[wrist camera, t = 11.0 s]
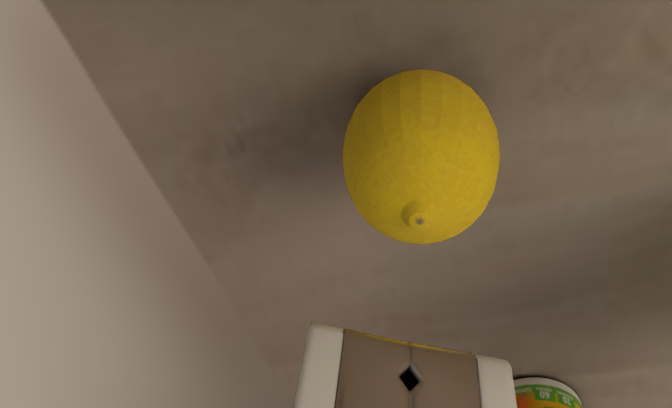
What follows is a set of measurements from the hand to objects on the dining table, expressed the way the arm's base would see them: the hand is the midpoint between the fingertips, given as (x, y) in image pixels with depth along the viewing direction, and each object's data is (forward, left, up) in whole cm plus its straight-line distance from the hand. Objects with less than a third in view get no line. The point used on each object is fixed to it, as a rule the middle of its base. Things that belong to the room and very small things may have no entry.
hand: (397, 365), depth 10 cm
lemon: (+2, -4, -17) cm, 18 cm away
